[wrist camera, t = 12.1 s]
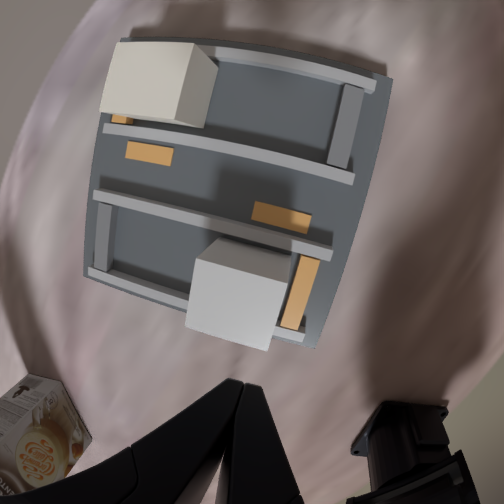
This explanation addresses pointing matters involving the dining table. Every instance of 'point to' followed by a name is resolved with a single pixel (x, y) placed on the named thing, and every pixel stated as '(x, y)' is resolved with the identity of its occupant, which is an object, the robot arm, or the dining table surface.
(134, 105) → the beige cube
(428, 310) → the dining table surface
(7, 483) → the coffee box
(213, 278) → the light grey cube
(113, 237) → the switch panel
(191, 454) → the robot arm
